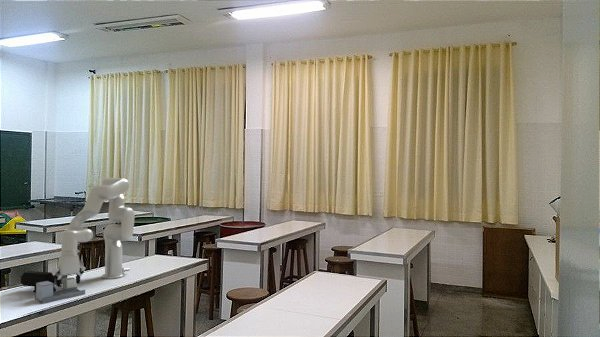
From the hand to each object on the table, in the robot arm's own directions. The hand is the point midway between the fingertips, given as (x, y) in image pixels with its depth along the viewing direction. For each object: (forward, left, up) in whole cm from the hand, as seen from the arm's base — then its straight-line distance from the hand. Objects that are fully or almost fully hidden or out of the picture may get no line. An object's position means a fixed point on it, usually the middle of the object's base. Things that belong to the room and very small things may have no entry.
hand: (68, 285), depth 224 cm
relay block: (-4, -19, -3) cm, 20 cm away
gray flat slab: (+7, +9, -3) cm, 12 cm away
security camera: (+10, -10, -3) cm, 14 cm away
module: (-1, 0, -3) cm, 3 cm away
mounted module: (+15, +9, -3) cm, 18 cm away
